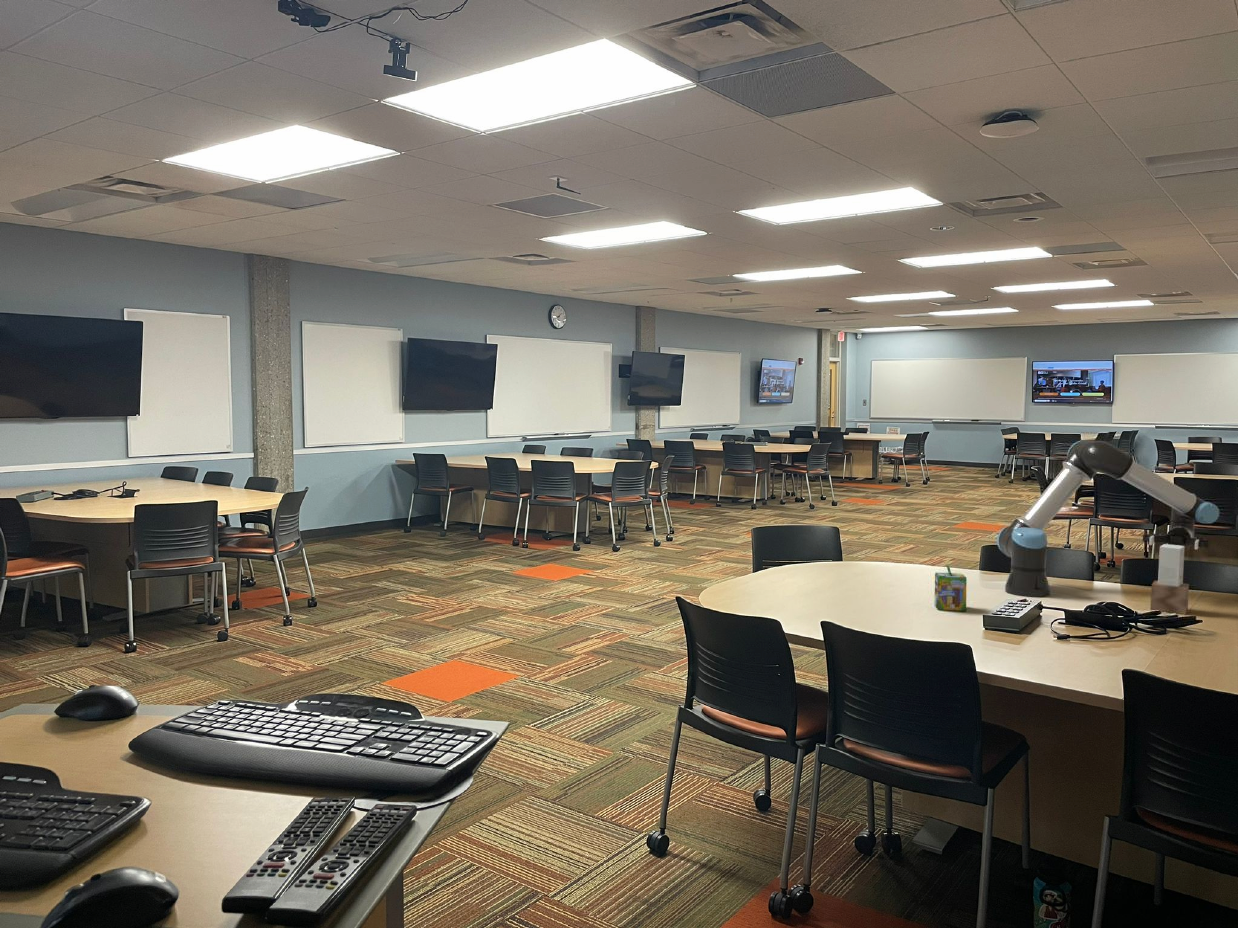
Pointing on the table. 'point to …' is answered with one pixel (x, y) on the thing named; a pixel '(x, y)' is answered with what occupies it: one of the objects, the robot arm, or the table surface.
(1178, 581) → the small box
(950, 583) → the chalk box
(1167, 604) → the walnut block
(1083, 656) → the table surface
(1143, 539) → the robot arm
